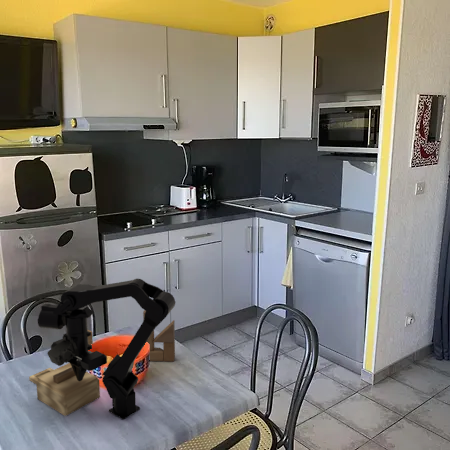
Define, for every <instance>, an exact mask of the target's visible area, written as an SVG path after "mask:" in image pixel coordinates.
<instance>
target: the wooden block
mask: <svg viewBox="0 0 450 450" xmlns="http://www.w3.org/2000/svg"><path fill="white" fill-rule="evenodd" d="M145 312H146V311H145V310H144V309H143V313H142V316H143V320H144V315H145ZM175 333H176V332H175V319H173V320H172V321H171V322H170V323H169V324H168V325H167V326H166V327H164V329H163V330H162V331H160V332H159V333H158V334H157V335H156V336H155V330H154V331H153V333H152V334H151V336H150V337H149V339H148V340H147V342H148V343H149V344H150V361H149V362H168V363H169V362H172V363H173V362H174V361H175V357H176V345H175V344H176V340H175V339H176V338H175ZM155 343H163V344H162V345H163V347H162V348H161V347H155Z"/></svg>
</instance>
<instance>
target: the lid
mask: <svg viewBox="0 0 450 450" xmlns="http://www.w3.org/2000/svg"><path fill="white" fill-rule="evenodd" d="M37 378H38V380H39V381H41V382H42V383H44V384H46V385H48V386H49V387H51V388H53V389H54V390H56V391H58V392H60V393H61V394H63V395H65V396H67V395H69V394H71V393H73V392H75V391H77V390H79V389H81V388H83V387H85V386H86V385H88V384H90V383H92V382H94V381H96V380H98V379H99V377H98V376H96V375H94V374H92V373H91V372H88V371H86V373H85V375H84V377H83V380H81V381H78V380H77V378H76V375H75V373H74V371H73V368H72V366H71V364H70V363H69V362H67V363H66V364H63V365H61V366H59V367H57V368H56V369H53V371H50V372H48V373H46V374H44V375H41V376H39V377H37Z"/></svg>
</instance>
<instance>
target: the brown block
mask: <svg viewBox="0 0 450 450" xmlns="http://www.w3.org/2000/svg"><path fill="white" fill-rule="evenodd" d="M87 330H88V331H89V332H91V336H88V344H89V345H91V344H93V345H94V343H93V340H94V339H93V331H92V330H89V329H87Z"/></svg>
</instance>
